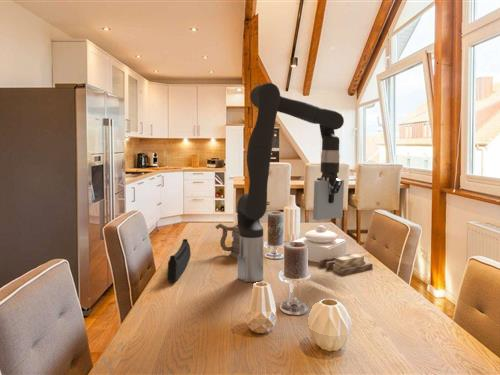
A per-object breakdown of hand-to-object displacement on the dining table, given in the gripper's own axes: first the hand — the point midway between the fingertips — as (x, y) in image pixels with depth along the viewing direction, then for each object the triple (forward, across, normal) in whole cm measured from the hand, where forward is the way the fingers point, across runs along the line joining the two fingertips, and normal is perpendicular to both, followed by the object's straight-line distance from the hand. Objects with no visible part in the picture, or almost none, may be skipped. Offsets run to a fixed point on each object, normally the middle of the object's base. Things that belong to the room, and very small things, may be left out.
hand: (328, 202), depth 177 cm
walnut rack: (+28, +7, +4) cm, 29 cm away
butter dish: (+28, -11, +6) cm, 31 cm away
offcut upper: (+24, +10, +4) cm, 26 cm away
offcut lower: (+26, +10, +4) cm, 28 cm away
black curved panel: (+29, -26, -55) cm, 68 cm away
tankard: (+29, -37, -23) cm, 52 cm away
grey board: (+7, 0, 0) cm, 7 cm away
